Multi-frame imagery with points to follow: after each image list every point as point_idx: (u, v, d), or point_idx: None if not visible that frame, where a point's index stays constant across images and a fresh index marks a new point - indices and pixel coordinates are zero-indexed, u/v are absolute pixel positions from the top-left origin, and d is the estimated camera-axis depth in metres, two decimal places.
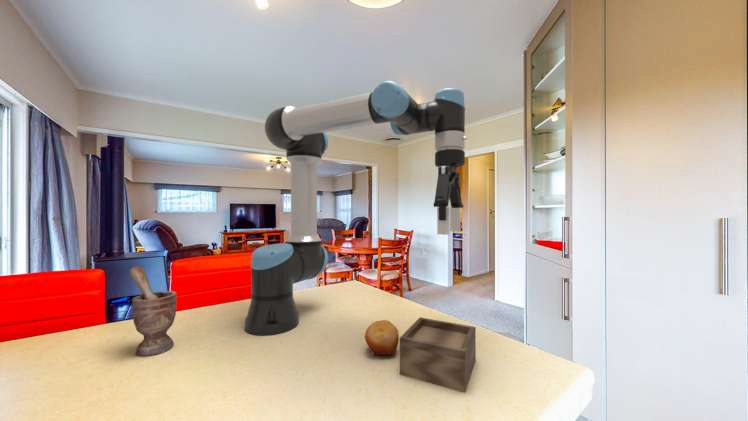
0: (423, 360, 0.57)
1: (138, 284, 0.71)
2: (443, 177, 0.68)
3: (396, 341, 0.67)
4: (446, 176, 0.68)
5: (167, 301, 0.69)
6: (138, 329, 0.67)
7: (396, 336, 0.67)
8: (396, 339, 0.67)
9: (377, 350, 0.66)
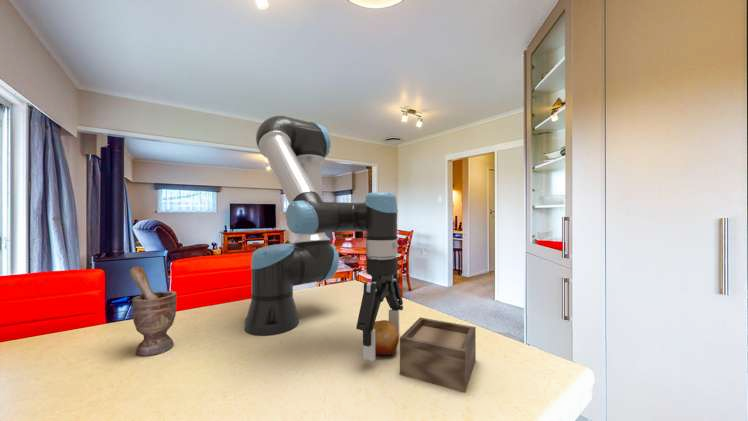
0: (423, 360, 0.57)
1: (138, 284, 0.71)
2: (368, 297, 0.62)
3: (396, 341, 0.67)
4: (371, 296, 0.62)
5: (167, 301, 0.69)
6: (138, 329, 0.67)
7: (396, 336, 0.67)
8: (396, 339, 0.67)
9: (377, 350, 0.66)
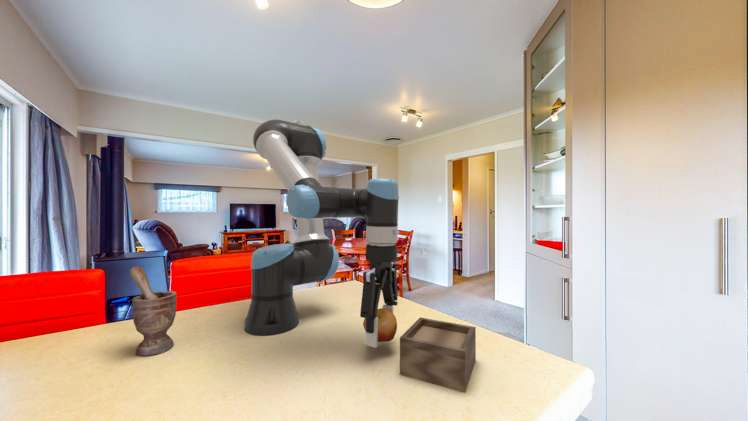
0: (423, 360, 0.57)
1: (138, 284, 0.71)
2: (368, 287, 0.63)
3: (394, 329, 0.67)
4: (371, 286, 0.63)
5: (167, 301, 0.69)
6: (138, 329, 0.67)
7: (394, 324, 0.67)
8: (394, 327, 0.67)
9: None
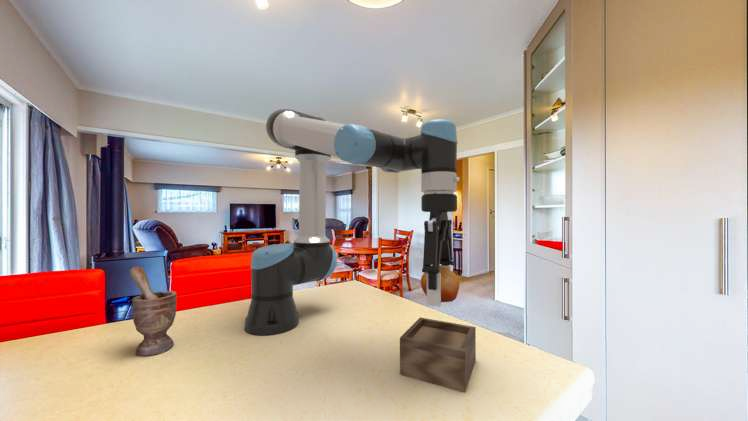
0: (423, 360, 0.57)
1: (138, 284, 0.71)
2: (431, 236, 0.56)
3: (457, 287, 0.60)
4: (434, 235, 0.56)
5: (167, 301, 0.69)
6: (138, 329, 0.67)
7: (457, 281, 0.60)
8: (457, 284, 0.60)
9: None
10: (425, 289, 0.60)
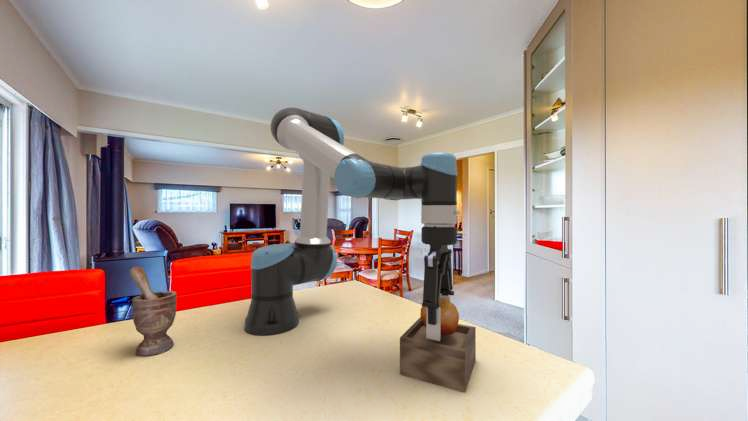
0: (423, 360, 0.57)
1: (138, 284, 0.71)
2: (431, 272, 0.56)
3: (457, 320, 0.60)
4: (434, 271, 0.56)
5: (167, 301, 0.69)
6: (138, 329, 0.67)
7: (457, 314, 0.60)
8: (457, 317, 0.60)
9: None
10: (425, 322, 0.60)
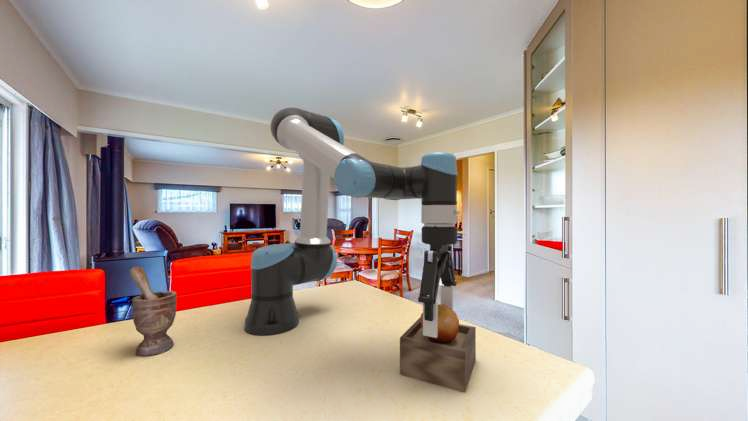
0: (423, 360, 0.57)
1: (138, 284, 0.71)
2: (430, 266, 0.56)
3: (457, 327, 0.60)
4: (433, 265, 0.55)
5: (167, 301, 0.69)
6: (138, 329, 0.67)
7: (457, 321, 0.60)
8: (457, 324, 0.60)
9: (438, 336, 0.59)
10: None
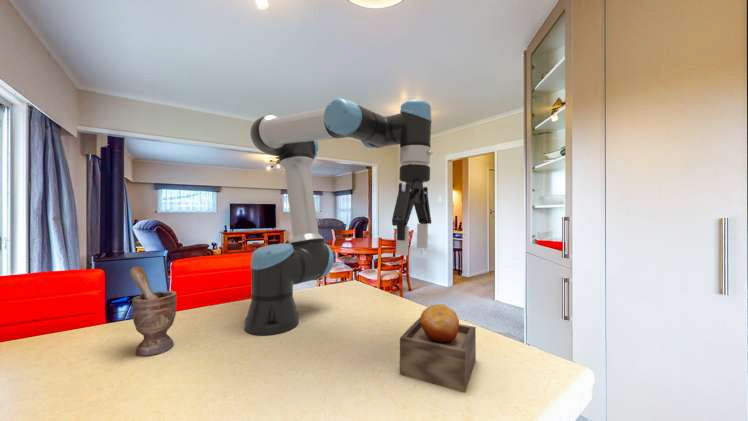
0: (423, 360, 0.57)
1: (138, 284, 0.71)
2: (403, 195, 0.65)
3: (457, 327, 0.60)
4: (406, 194, 0.65)
5: (167, 301, 0.69)
6: (138, 329, 0.67)
7: (457, 321, 0.60)
8: (457, 324, 0.60)
9: (438, 336, 0.59)
10: (425, 329, 0.60)
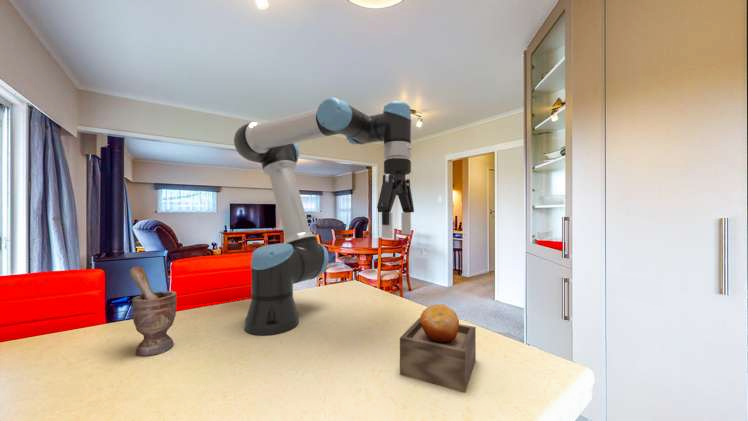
0: (423, 360, 0.57)
1: (138, 284, 0.71)
2: (386, 185, 0.74)
3: (457, 327, 0.60)
4: (389, 184, 0.74)
5: (167, 301, 0.69)
6: (138, 329, 0.67)
7: (457, 321, 0.60)
8: (457, 324, 0.60)
9: (438, 336, 0.59)
10: (425, 329, 0.60)
